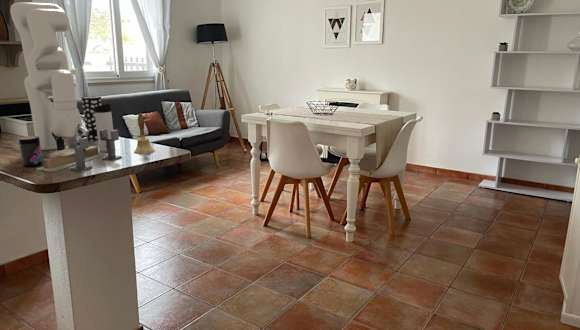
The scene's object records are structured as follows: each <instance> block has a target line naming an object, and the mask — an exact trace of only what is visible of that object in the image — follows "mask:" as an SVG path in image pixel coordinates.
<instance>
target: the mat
mask: <svg viewBox="0 0 580 330" xmlns="http://www.w3.org/2000/svg"><path fill="white" fill-rule="evenodd" d="M106 156H107V153H100V152H99V154H97V155H94V156H91V157H87V158H85V163H86V162H89V161H92V160H96V159H98V158H103V157H106ZM75 166H77V165H76V161H74V162H71V163H68V164H65V165H61V166H58V167H55V168H52V169H48V168H44V165H43V166H39V167H36V171H41V170H44V171H43V172H52V171H55V172H58V171H61V170H64V168H65V169H68V168H70V167H71V168H72V167H75ZM67 167H68V168H67ZM60 169H61V170H60ZM57 170H58V171H57Z"/></svg>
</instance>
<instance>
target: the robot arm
mask: <svg viewBox="0 0 580 330" xmlns="http://www.w3.org/2000/svg"><path fill="white" fill-rule="evenodd" d="M10 16H11V20H12V22H13V24H14V26H15V28H16V30H17V32H18V34H19V37H20V41H21V46H22V47H21V48H22V53H23V59H24V63H25V66H26V71H27V74H28V75H27V76H25V78H24V83H23V84H24V89H25V90H26V94H27V97H28V102H29V106H30V112H31V119H32V124H33V131H34V136H39V139H40V146H41V151H51V150H57V151H58V152H60V151H64V150H66V143H65V140H64V138H70V137H76V141H77V145H79V139H81V138H85V137H88V134H89V130H87V129H86V128H85V126H83V120H82V117H81V113H80V110H79V109H78V102H77V95H76V85H75V79H74V74H73V73H72V72H70V68H69V63H68V57H67V53H66V52H65V51H64V49H62V48H60V42H59V39H58V36H57V32H58V33H61V32H62V33H66V32H68V31H69V29H70V24H71V23H70V19H69V17H68V14H67V12H66V11H65V10H64V9H63V8H62V7H60V6H59V5H58V4H55V3H45V2H30V1H29V2H28V1H24V2H22V1H21V2H15V3H13V4H11V6H10ZM49 97H52V99H53V100H52V101H53V102H52V101H51V100H50V99H49ZM83 151H84V152H85V151H86V149H84V150H83Z"/></svg>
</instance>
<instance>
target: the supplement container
mask: <svg viewBox="0 0 580 330" xmlns="http://www.w3.org/2000/svg"><path fill="white" fill-rule="evenodd" d="M17 141H18V146H19V152H20V159H21V165H22V167H24V168H35V167H36V168H38V167H41V166H42V165H44V164H43V160H44V159H43V152H42V150H41V146H40V139H39V136H35V135H28V136H21V137H17ZM40 165H41V166H40Z"/></svg>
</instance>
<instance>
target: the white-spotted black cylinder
mask: <svg viewBox="0 0 580 330" xmlns="http://www.w3.org/2000/svg"><path fill="white" fill-rule="evenodd" d="M81 102H82V111H83V112H82V113H83V119H84V128H86V129H87V130H89V134H88V137H87V138H88V142H98V135H97V127H96V119H95V110H94V106H99V105H103V103H102V96H84V97H81Z"/></svg>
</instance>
